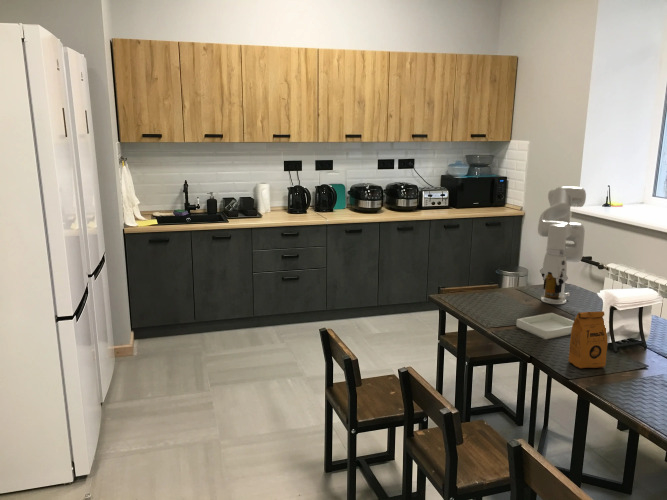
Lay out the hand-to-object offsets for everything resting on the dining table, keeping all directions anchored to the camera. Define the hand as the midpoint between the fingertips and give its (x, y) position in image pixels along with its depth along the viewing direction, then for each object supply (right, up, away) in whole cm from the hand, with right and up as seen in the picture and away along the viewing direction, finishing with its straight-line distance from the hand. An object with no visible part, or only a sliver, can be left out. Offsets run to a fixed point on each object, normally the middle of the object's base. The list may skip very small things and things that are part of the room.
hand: (552, 290), depth 257 cm
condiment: (+1, -3, 0) cm, 3 cm away
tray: (0, -18, +4) cm, 18 cm away
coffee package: (0, -27, -35) cm, 44 cm away
